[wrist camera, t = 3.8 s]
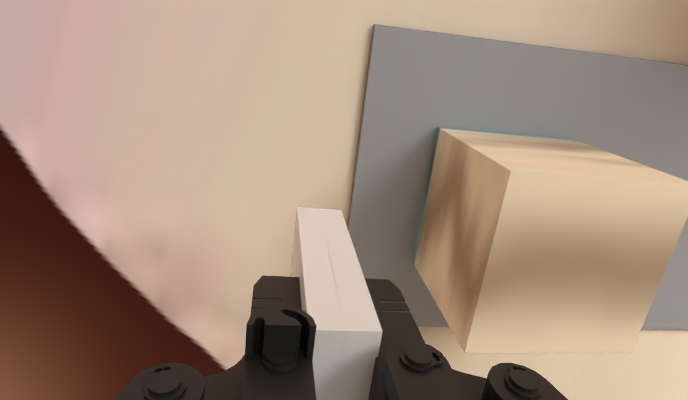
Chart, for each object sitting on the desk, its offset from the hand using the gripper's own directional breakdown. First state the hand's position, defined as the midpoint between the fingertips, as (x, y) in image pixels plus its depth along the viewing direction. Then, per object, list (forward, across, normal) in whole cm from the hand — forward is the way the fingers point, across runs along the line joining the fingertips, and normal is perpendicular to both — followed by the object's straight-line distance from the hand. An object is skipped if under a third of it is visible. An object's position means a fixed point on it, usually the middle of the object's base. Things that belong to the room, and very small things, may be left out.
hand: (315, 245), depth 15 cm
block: (+6, +9, 0) cm, 11 cm away
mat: (+6, +16, 0) cm, 17 cm away
